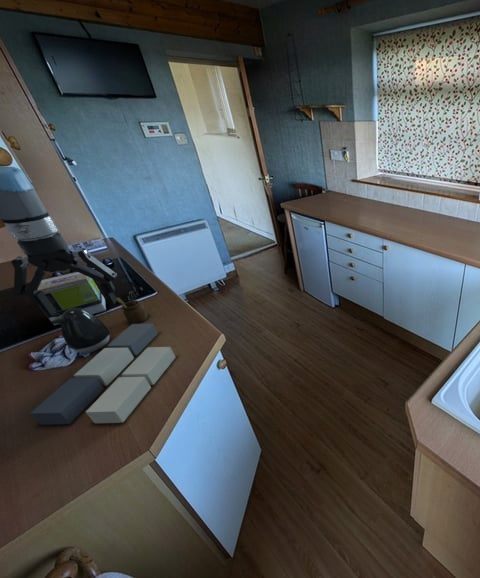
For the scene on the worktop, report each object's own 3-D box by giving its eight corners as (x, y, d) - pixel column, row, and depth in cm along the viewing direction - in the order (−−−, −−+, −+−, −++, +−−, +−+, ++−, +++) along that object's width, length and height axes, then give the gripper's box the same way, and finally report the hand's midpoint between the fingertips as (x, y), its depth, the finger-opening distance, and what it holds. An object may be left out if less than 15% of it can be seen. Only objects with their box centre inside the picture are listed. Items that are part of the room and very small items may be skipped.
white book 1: (81, 386, 83) (73, 375, 81) (111, 358, 93) (104, 347, 90) (107, 385, 83) (99, 374, 81) (134, 358, 93) (127, 347, 90)
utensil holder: (152, 315, 112) (138, 288, 106) (138, 325, 107) (123, 297, 101) (137, 314, 113) (123, 287, 107) (123, 324, 107) (108, 296, 101)
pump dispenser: (65, 354, 94) (37, 316, 86) (101, 334, 102) (77, 298, 95) (88, 361, 91) (60, 322, 84) (122, 340, 100) (100, 303, 92)
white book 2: (94, 423, 73) (85, 412, 71) (126, 388, 83) (118, 377, 80) (123, 422, 73) (114, 411, 71) (151, 387, 83) (144, 376, 81)
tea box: (106, 300, 121) (87, 268, 113) (106, 311, 114) (86, 278, 107) (55, 314, 112) (31, 280, 105) (53, 326, 106) (27, 292, 98)
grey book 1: (40, 424, 73) (29, 413, 71) (78, 389, 82) (70, 378, 80) (69, 424, 73) (59, 412, 71) (104, 388, 82) (96, 377, 80)
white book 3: (128, 385, 84) (121, 374, 81) (153, 357, 93) (147, 347, 91) (153, 384, 84) (147, 373, 81) (175, 357, 93) (170, 346, 91)
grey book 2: (113, 356, 93) (107, 345, 91) (137, 334, 103) (132, 323, 100) (136, 355, 94) (130, 345, 91) (157, 333, 103) (152, 323, 101)
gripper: (-48, 249, 63) (15, 326, 74) (97, 233, 73) (134, 304, 83) (-25, 238, 69) (31, 311, 80) (107, 224, 78) (140, 291, 89)
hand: (84, 307), depth 82 cm, fingers open, 13 cm apart
